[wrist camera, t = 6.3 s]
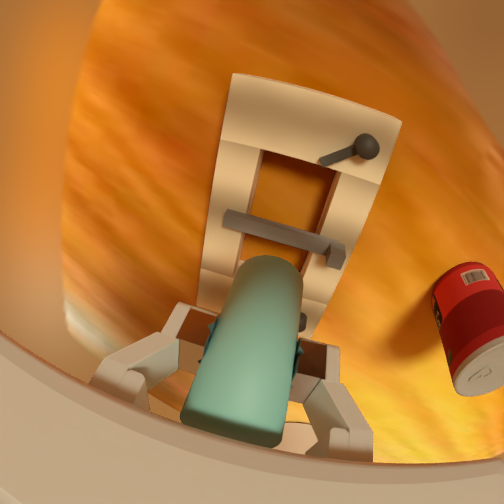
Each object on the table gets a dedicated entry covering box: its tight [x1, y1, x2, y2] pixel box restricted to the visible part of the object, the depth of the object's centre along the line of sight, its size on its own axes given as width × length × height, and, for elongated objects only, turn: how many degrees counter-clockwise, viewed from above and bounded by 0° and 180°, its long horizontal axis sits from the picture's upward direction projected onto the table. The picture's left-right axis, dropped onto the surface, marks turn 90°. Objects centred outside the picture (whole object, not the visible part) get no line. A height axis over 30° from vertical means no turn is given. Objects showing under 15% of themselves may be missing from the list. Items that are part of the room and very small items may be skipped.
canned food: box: [432, 262, 504, 396], centre depth 22 cm, size 8×8×11 cm
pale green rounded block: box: [180, 255, 304, 448], centre depth 11 cm, size 3×3×7 cm
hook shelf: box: [196, 73, 402, 339], centre depth 25 cm, size 22×12×5 cm, turn 168°
